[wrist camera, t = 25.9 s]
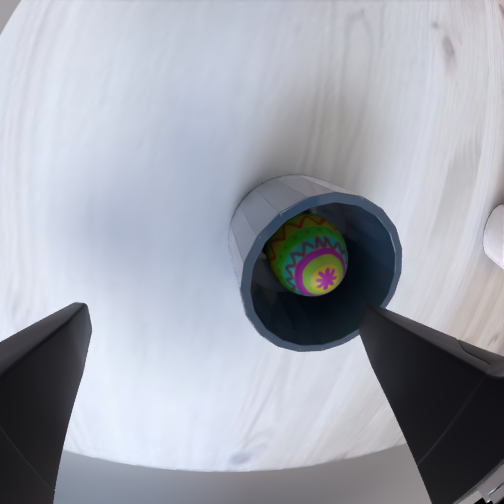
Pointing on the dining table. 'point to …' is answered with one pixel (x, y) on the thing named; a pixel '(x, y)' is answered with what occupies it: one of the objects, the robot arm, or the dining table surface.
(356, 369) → the dining table surface
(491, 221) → the foam cup
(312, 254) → the egg
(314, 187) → the cup
